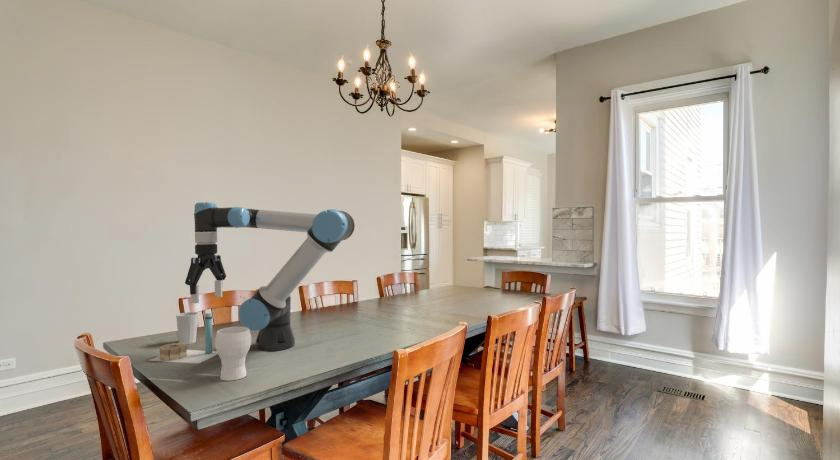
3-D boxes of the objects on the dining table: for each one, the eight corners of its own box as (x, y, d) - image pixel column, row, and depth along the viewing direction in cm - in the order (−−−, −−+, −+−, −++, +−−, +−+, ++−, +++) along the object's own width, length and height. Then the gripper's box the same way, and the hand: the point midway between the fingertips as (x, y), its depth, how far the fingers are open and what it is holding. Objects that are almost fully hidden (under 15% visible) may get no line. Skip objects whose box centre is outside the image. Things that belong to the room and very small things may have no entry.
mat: (223, 352, 162) (223, 351, 162) (198, 364, 148) (198, 363, 148) (176, 350, 165) (176, 349, 165) (148, 361, 151) (148, 360, 151)
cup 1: (188, 346, 171) (188, 316, 171) (171, 345, 172) (171, 315, 172) (202, 341, 179) (202, 312, 179) (186, 339, 180) (186, 311, 180)
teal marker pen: (213, 352, 161) (213, 313, 161) (209, 354, 158) (209, 314, 158) (207, 352, 161) (207, 312, 161) (203, 354, 159) (203, 314, 159)
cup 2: (222, 371, 141) (222, 326, 141) (255, 370, 142) (255, 325, 142) (209, 383, 131) (209, 334, 131) (245, 382, 132) (245, 333, 131)
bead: (191, 354, 159) (191, 343, 159) (175, 361, 151) (175, 349, 151) (171, 353, 160) (171, 342, 160) (154, 359, 152) (154, 348, 152)
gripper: (218, 242, 173) (218, 294, 173) (172, 245, 148) (174, 305, 148) (234, 242, 171) (235, 294, 171) (192, 245, 147) (193, 306, 147)
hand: (207, 300), depth 160 cm, fingers open, 13 cm apart
